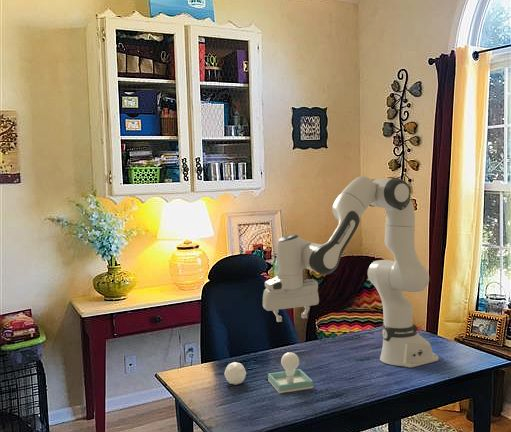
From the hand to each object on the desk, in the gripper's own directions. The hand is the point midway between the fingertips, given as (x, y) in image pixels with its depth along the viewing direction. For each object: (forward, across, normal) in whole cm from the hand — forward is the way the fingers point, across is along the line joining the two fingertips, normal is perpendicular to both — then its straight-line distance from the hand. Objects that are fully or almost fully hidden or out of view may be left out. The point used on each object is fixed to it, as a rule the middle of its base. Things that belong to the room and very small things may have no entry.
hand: (291, 319), depth 204 cm
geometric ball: (+23, +20, -7) cm, 31 cm away
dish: (+23, +2, +1) cm, 23 cm away
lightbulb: (+23, +2, +1) cm, 23 cm away
